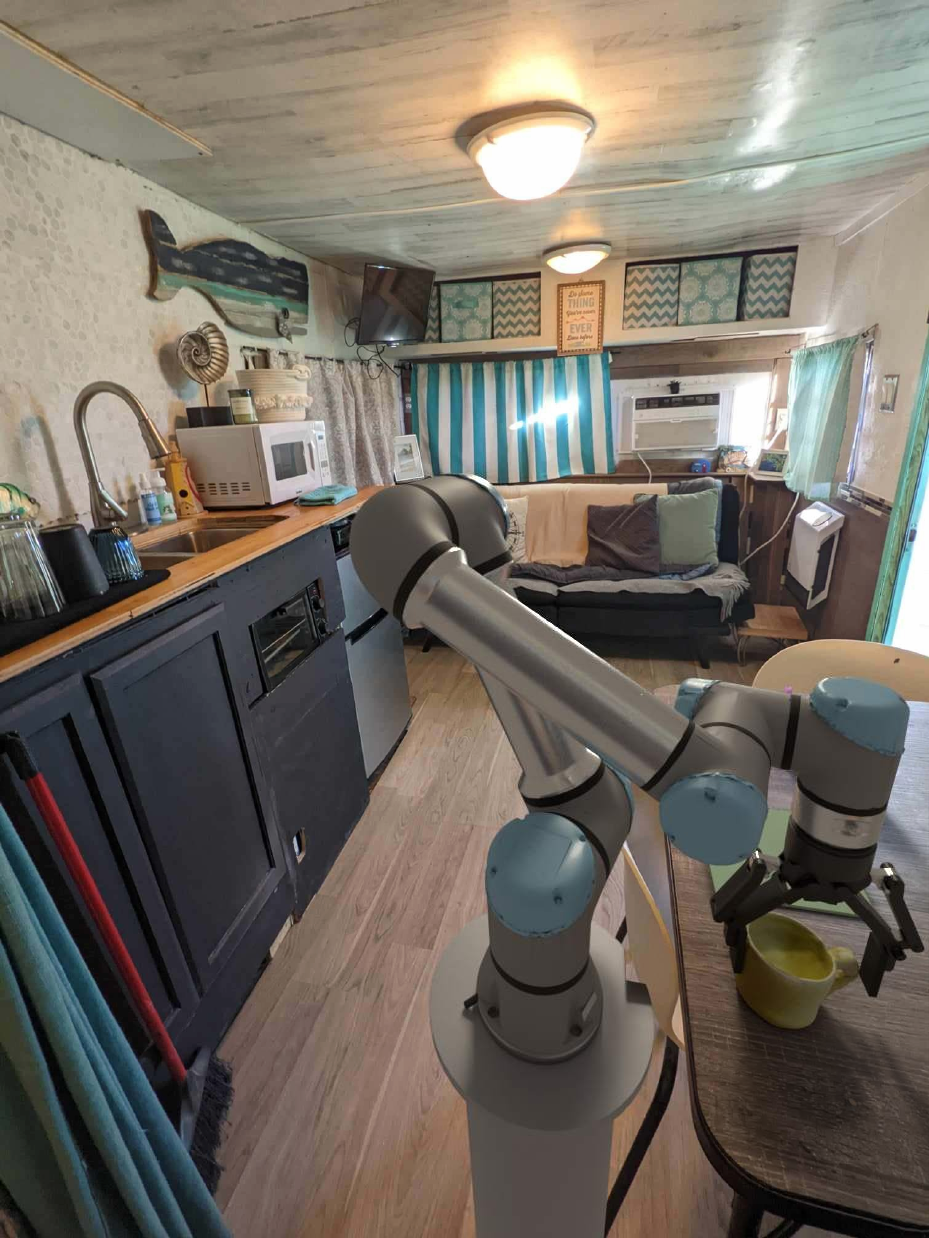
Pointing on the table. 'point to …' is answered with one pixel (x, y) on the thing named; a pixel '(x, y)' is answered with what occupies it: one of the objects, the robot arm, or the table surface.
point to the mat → (774, 846)
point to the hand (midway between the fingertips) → (799, 973)
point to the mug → (790, 970)
